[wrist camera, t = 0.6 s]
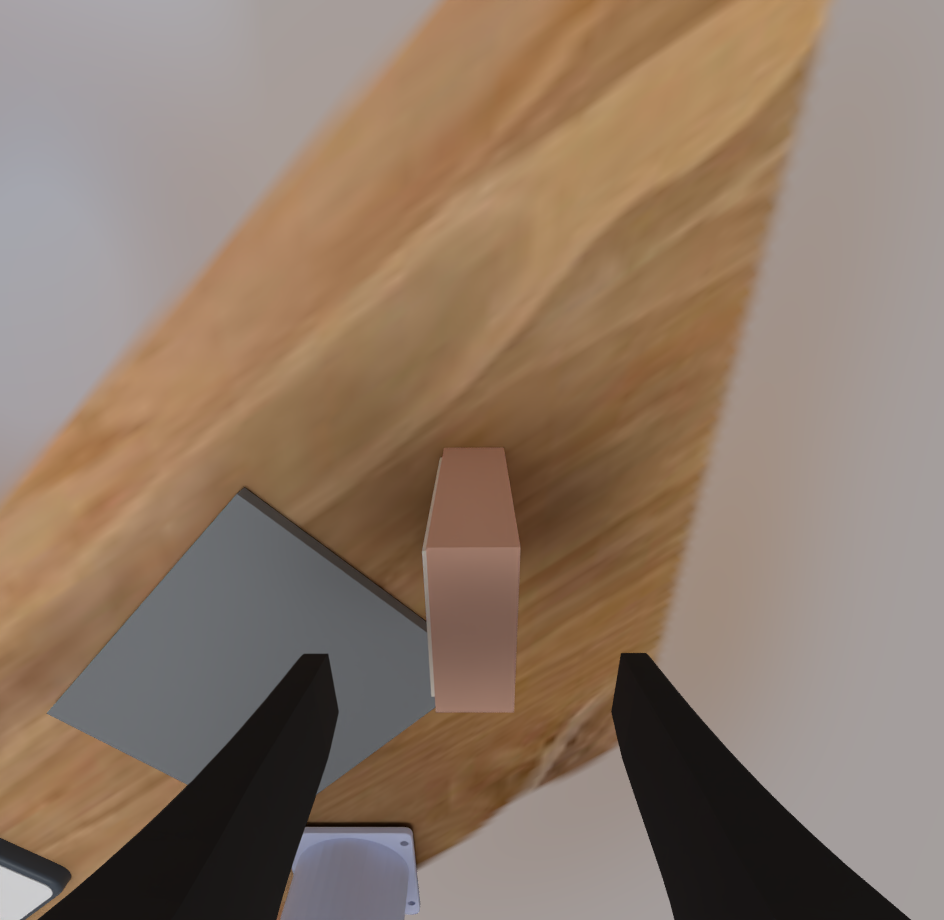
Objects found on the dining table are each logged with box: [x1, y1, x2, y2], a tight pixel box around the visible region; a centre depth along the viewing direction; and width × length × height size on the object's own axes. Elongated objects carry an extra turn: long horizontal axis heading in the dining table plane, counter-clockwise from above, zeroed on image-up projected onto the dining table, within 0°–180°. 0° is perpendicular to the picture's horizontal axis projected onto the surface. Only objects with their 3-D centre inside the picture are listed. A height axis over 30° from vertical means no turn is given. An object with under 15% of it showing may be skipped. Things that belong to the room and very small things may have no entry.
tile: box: [422, 447, 521, 712], centre depth 16 cm, size 6×3×7 cm, turn 1°
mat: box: [47, 488, 435, 794], centre depth 22 cm, size 18×14×1 cm
